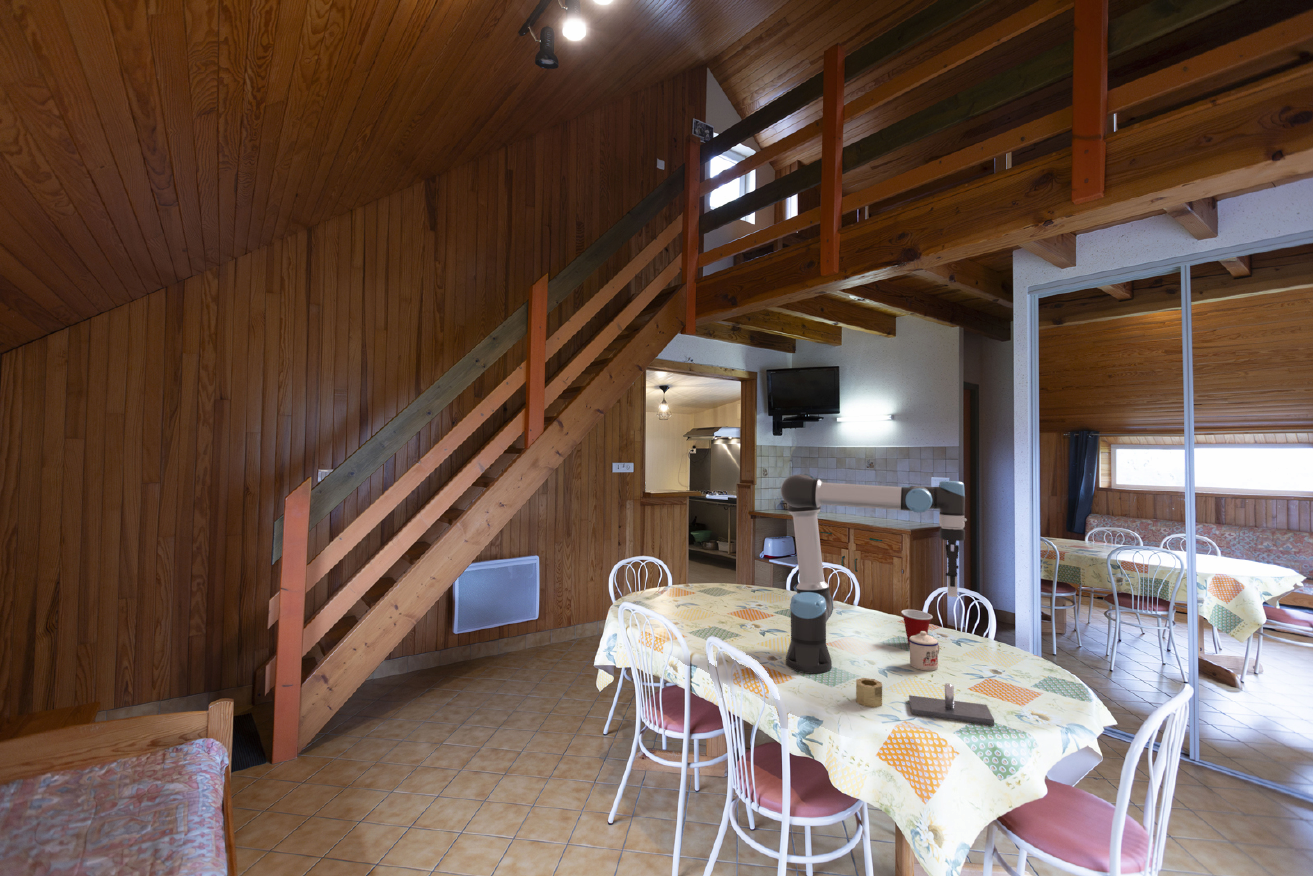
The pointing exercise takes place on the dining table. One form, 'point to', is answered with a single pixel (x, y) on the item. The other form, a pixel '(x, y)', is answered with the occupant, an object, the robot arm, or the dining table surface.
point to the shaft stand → (950, 708)
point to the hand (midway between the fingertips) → (952, 592)
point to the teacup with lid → (924, 652)
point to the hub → (869, 692)
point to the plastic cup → (916, 622)
